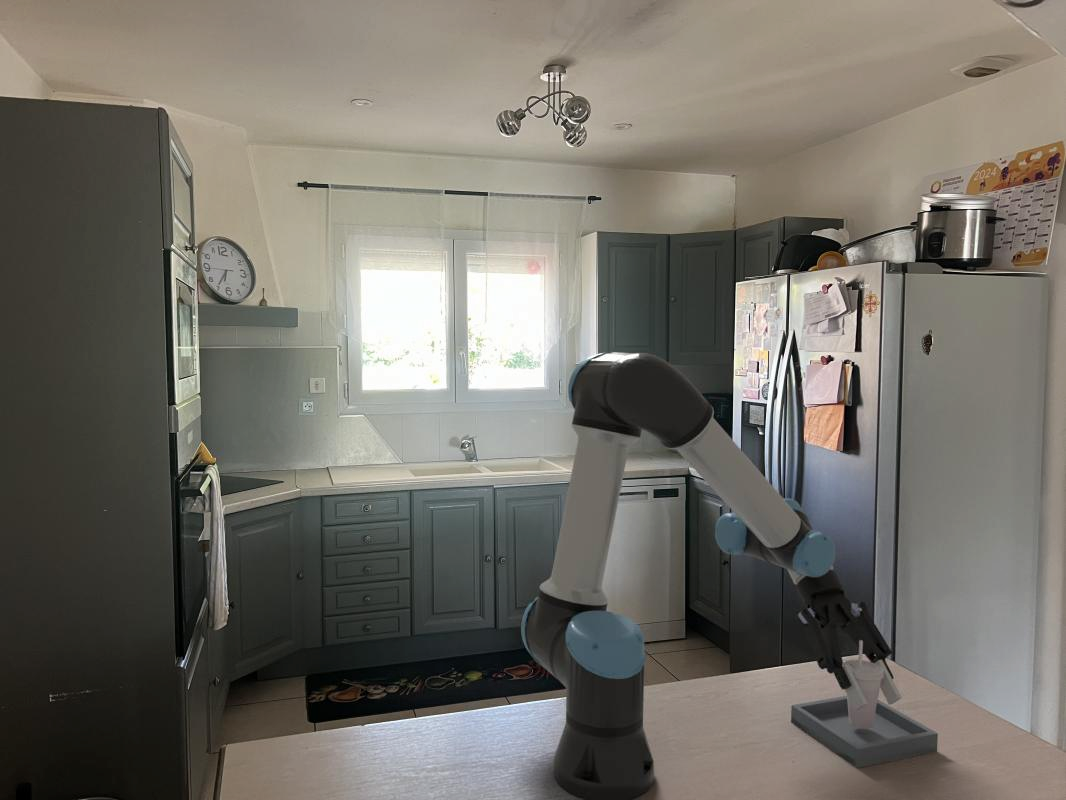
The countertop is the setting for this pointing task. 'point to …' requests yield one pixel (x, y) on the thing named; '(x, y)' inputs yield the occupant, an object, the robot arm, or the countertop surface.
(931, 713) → the countertop surface
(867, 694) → the smoothie
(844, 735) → the tray
